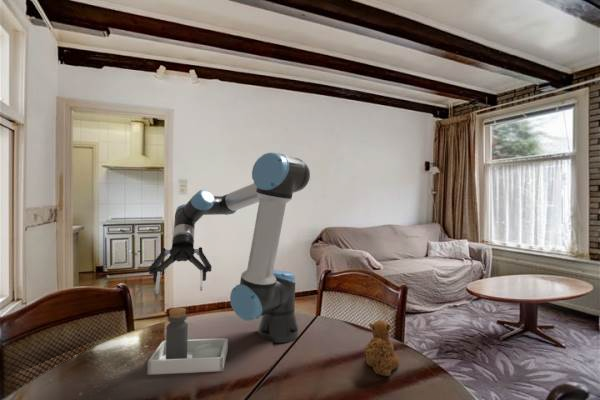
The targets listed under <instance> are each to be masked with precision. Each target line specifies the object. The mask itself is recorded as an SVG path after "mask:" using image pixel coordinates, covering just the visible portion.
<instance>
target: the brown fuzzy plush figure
mask: <svg viewBox="0 0 600 400" xmlns="http://www.w3.org/2000/svg"><path fill="white" fill-rule="evenodd" d="M368 327H369V330H371V331H372V338H371V339H370V342H368V344H367V345H365V347H364V348H363V350H364V353H363V355H365V363H366V364H367V365H368V366H369V367H371V368H372V367H373V368H372V371H374V373H375V374H377V375H378V376H383V377H389V376H391V375H392V374H391V373H392V371H393V370H395V369H397V368H399V365H400V358H399V357H398V355H397V353H396V352H395V351H394V344H393V342H392V340H391V338H390V329H391V328H392V324H391V323H387V321H385V320H381V319H378V320H377V321H374V323H371V322H369V323H368Z"/></svg>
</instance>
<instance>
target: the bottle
mask: <svg viewBox="0 0 600 400" xmlns="http://www.w3.org/2000/svg"><path fill="white" fill-rule="evenodd" d="M186 311H187V308H186V307H175V308H171V309H169V311H168V314H169V316H168V318H167V321H168V322H169V323H168V324H167V325H166V332H165V333H166V335H165V337H166V339H165V340H166V359H184V358H187V340H189V338H188V335H189V334H188V333H189V331H188V330H189V326H188V325H189V324H188V323H187V322H186V321H185V320H187V318H188V317H187V314H186Z"/></svg>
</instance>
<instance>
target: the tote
mask: <svg viewBox="0 0 600 400" xmlns="http://www.w3.org/2000/svg"><path fill="white" fill-rule="evenodd" d="M204 344H216V345H219V346H220V357H208V358H192V352H193V349H195V348H196V347H198V346H200V345H204ZM228 348H229V337H227V338H226V337H225V338H223V337H222V338H221V337H220V338H203V339H202V338H198V339H187V358H184V359H166V339H165V340H162V341H161V342H160V344H159V345H158V347H157V348H156V350H155V351H154V352H153V354H151V356H150V358H149V359H148V360H147V373H146V374H147V376H148V375H149V376H150V375H151V376H152V375H167V374H168V375H169V374H190V373H191V374H193V373H208V372H209V373H210V372H211V373H212V372H224V368H225V363H226V358H227V355H228V352H229V351H228V350H229V349H228Z"/></svg>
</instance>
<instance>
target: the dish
mask: <svg viewBox="0 0 600 400" xmlns="http://www.w3.org/2000/svg"><path fill="white" fill-rule="evenodd" d="M208 357H220V346H219V345H216V344H204V345H200V346H198V347H196V348H195V349H193V352H192V358H208Z"/></svg>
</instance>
